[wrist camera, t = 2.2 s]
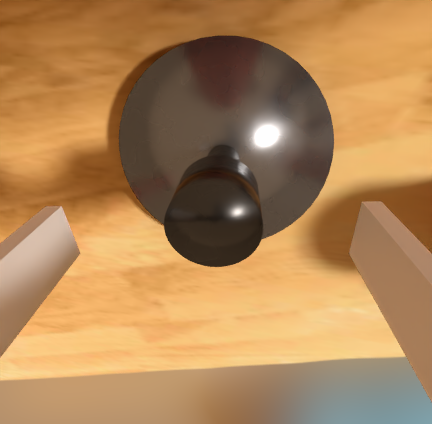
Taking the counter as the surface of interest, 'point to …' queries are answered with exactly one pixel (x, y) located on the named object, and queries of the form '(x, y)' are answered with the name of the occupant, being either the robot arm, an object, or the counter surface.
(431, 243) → the counter surface
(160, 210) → the lid
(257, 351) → the counter surface
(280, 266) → the counter surface
